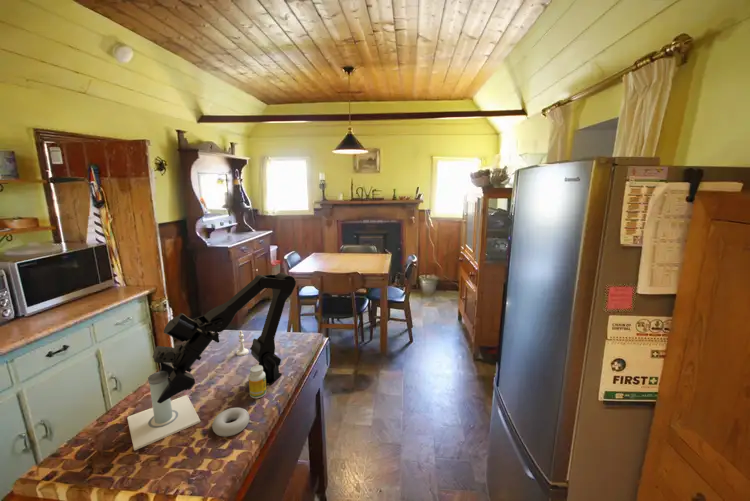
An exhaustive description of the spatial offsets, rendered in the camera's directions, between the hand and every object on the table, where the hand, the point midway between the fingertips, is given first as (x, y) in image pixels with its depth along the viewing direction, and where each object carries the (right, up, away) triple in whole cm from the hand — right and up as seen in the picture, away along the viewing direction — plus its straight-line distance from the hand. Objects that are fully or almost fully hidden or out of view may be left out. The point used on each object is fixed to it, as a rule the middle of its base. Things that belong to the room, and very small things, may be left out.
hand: (155, 394), depth 94 cm
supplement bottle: (+24, -7, +15) cm, 30 cm away
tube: (+1, -8, +2) cm, 8 cm away
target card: (+1, -9, +2) cm, 9 cm away
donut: (+22, -10, +1) cm, 24 cm away
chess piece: (+8, -1, +42) cm, 43 cm away
